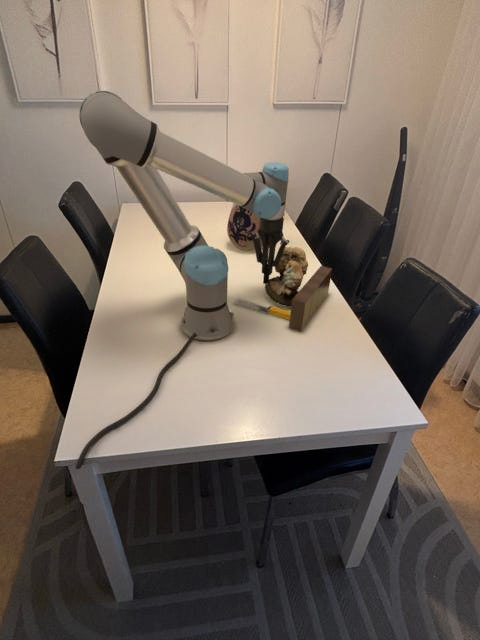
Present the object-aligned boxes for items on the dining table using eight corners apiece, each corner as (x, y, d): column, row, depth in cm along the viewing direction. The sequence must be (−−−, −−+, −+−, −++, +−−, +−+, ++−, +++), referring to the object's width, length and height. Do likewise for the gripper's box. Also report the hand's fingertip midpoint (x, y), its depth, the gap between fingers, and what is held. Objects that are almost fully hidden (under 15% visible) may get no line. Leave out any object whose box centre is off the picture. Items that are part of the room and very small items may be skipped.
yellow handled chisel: (295, 317, 123) (295, 312, 122) (291, 321, 121) (292, 316, 120) (239, 300, 131) (239, 295, 130) (235, 304, 129) (235, 299, 128)
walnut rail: (301, 331, 117) (305, 303, 111) (288, 327, 118) (292, 299, 113) (327, 294, 136) (332, 268, 130) (316, 291, 137) (321, 265, 132)
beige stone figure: (258, 278, 139) (271, 233, 130) (289, 281, 142) (303, 238, 133) (272, 305, 125) (287, 258, 115) (305, 308, 128) (323, 262, 119)
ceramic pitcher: (220, 250, 164) (220, 190, 150) (238, 233, 181) (239, 177, 167) (260, 257, 159) (264, 196, 146) (274, 239, 176) (279, 182, 162)
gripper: (295, 216, 122) (286, 281, 135) (258, 208, 126) (254, 272, 140) (286, 224, 116) (278, 291, 130) (248, 215, 120) (244, 281, 134)
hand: (266, 281), depth 135 cm, fingers closed
